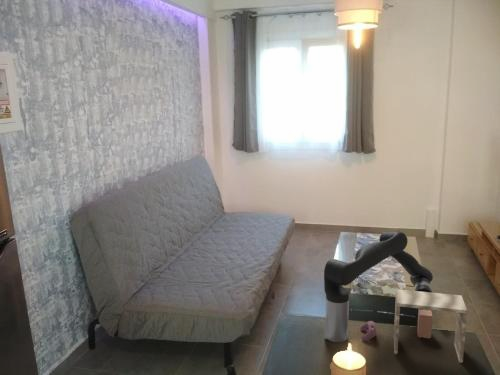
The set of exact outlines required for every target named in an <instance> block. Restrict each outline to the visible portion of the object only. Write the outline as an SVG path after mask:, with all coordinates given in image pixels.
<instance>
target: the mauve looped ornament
mask: <svg viewBox="0 0 500 375" xmlns="http://www.w3.org/2000/svg"><path fill="white" fill-rule="evenodd" d="M376 327H377V326H376V323H375V322H374V321H372V320H369V321H367V322H366V323H364V324H363V325H361V326H360V327H359V328H360V329H359V330H360V331H361V332H364V331H366V333H365V334H364V335H363V336H362V337H361V341H363V342H367V341H369V340H372V338H374V337H375V336H377V328H376Z"/></svg>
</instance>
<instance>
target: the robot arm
mask: <svg viewBox="0 0 500 375" xmlns="http://www.w3.org/2000/svg"><path fill="white" fill-rule="evenodd" d="M378 240H379V241H376V242H372V243H368V244H366V245H364V246H363V247H360V248H359V249H358V250H357V251H356V253H355V256H354V260H353V261H351V262H346V261H343V260H338V259H335V258H331V259H329V260H328V261H327V262H326V263H325V266H324V269H323V283H324V284H323V286H324V287H323V288H324V289H323V290H324V294H325V316H324V339H325V340H328V341H329V342H333V343H343V342H346V341H347V340H348V338H349V312H350V311H349V310H350V309H349V308H350V307H349V306H350V294H349V291H348V290H347V288H345V287H344V286H348V285H350V284H351V283H353V282H354V281H355V280H356V279H357V278H359V276H361V275H362V274H364V273H365V272H367V271H368V270H370V269H372V268H373V267H375V266H377V265H378V264H380V263H381V262H383V261H384V260H386V259H388V258H389V257H392V258H393V259H394V260H396V261H397V263H398V264H400V265H401V267H403V269H404V270H405V271H406V272H407V274H408V275H410V276H409V280H410V282H411V284H412V285H413V286H414V291H421V292H431V293H433V290H432V287H431V282H432V281H433V279H434V276H433V273H432V272H431V271H430V270H429V269H428V268H426V267H425V266H423V265H421V264H420V263H419V261H418V260H417V259H416V258H415V257H414V256H413V255H412V254H410V253H408V252H407V251H405V249H406V247H407V246H408V242H409V241H408V236H407V235H406V234H405V233H404V232H403V231H392V230H391V231H390V230H389V231H383V232H382V233H381V234H380V236H379V239H378ZM434 311H438V310H434Z"/></svg>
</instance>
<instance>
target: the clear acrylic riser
mask: <svg viewBox="0 0 500 375" xmlns="http://www.w3.org/2000/svg"><path fill="white" fill-rule="evenodd" d="M394 304H395V305H394V321H393V323H394V324H393V353H394V355H398V353H399V352H398V351H399V350H398V349H399V332H400V315H401V314H400V312H401V307H403V308H413V309H421V310H430V311H435V310H437V311H439V312H449V313H456V319H455V332H454V341H453V346H454V349H455V352H456V356H457V359H458V363H460V364H464V352H465V351H464V350H465V342H466V329H467V318H468V309H467V306H466V304H465V301H464V298H463V295H462V294H461V295H460V294H459V295H458V294H449V293H440V292H432V293H431V292H421V291H415V290H409V289H399V288H395V302H394Z"/></svg>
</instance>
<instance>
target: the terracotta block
mask: <svg viewBox="0 0 500 375" xmlns="http://www.w3.org/2000/svg"><path fill="white" fill-rule="evenodd" d="M417 316H418V317H417V325H416V326H417V328H416V330H417V337H418V338H422V337H423V338H424V339H430V338H431V339H432V330H433V329H432V328H433V318H434V317H433V312H432V310H429V309H420V308H418V312H417Z"/></svg>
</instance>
